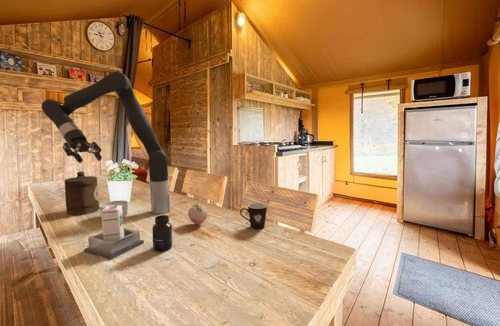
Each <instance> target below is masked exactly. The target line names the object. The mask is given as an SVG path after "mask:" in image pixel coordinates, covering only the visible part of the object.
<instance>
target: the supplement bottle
mask: <svg viewBox="0 0 500 326" xmlns="http://www.w3.org/2000/svg"><path fill="white" fill-rule="evenodd" d="M151 231H152V250H154V251H155V252H157V253H162V252H167V251H169V250H170V249H172V247H173V225H172V224H171V222H170V217H169V215H167V214H159V215H157V216H155V217H154V224H153V225H152V230H151Z"/></svg>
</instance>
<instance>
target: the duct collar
mask: <svg viewBox="0 0 500 326" xmlns="http://www.w3.org/2000/svg"><path fill="white" fill-rule="evenodd" d="M124 235H125V237H122V238H120V239H118V240H115V241H113V242H109V241H105V240H104V238H103V231H102V232H100V233H97V234H95V235H92V236H90V237H88V239H87V240H88V241H87V243H88V247H86V248H84V252H85V253H89V254H92V255H95V256H98V257H101V258H104V259H107V260H114V259H115V258H117V257H119V256H121V255H123V254H126V253H127V252H129V251H131V250H133V249H135V248H137V247H139V246H141V245H143V244H144V243H145V240H143V239H141V237H140V230H136V229H131V228H127V227H124Z"/></svg>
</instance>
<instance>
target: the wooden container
mask: <svg viewBox="0 0 500 326" xmlns="http://www.w3.org/2000/svg"><path fill="white" fill-rule="evenodd" d="M64 191H65V192H64V193H65V197H64V198H65V208H66V209H65V210H66V211H65V212H66V214H67V215H68V216H83V215H89V214H93V213H96V212H97V211H100V209H99V205H100V204H99V203H100V202H99V192H98V177H97V176H93V175H92V176H89V175H87V176H86V175H85V172H84V171H77V173H76V176H75V177H69V178H66V179H64Z"/></svg>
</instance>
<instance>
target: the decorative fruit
mask: <svg viewBox="0 0 500 326" xmlns="http://www.w3.org/2000/svg"><path fill="white" fill-rule="evenodd" d="M208 215H209V214H208V210H207V208H206V207H205V206H203V205H199V204H198V203H197V204H194V205H192V206H191V207H190V208H189V210H188V212H187V216H188V218H189V219H190V221H191V222H192V223H194V224H195V225H201V224H202V223H204V222H205V221H206V220H207V217H208Z"/></svg>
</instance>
